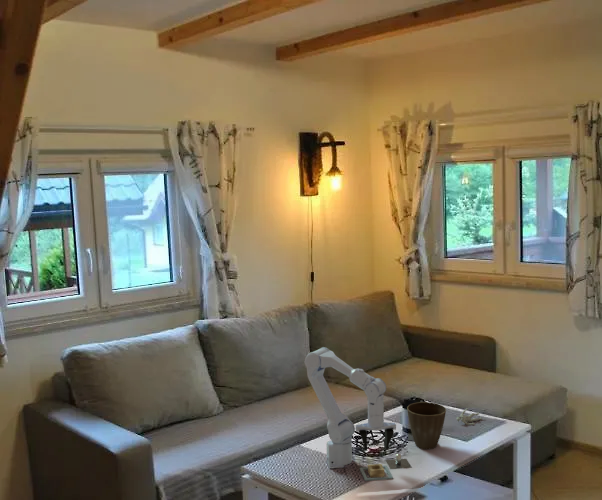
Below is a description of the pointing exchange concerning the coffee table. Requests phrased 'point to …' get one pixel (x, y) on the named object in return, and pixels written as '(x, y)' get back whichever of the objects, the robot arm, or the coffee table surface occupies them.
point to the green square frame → (376, 477)
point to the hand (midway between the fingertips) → (376, 449)
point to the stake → (398, 463)
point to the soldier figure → (468, 418)
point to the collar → (376, 470)
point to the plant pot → (426, 423)
